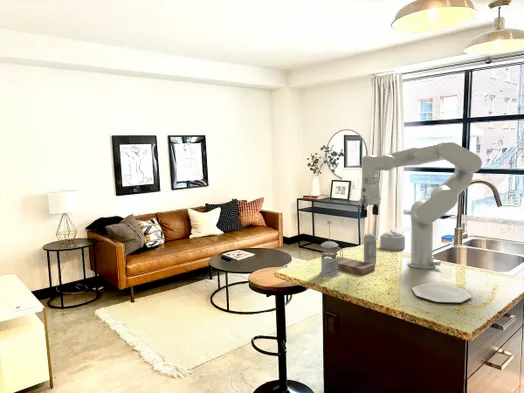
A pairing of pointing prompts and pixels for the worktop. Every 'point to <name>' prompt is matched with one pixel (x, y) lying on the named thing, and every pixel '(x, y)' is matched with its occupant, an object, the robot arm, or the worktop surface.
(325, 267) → the french press
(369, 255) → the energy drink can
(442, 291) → the plate
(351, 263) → the walnut board
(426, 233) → the robot arm
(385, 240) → the lumpy-topped squat cylinder
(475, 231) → the worktop surface
